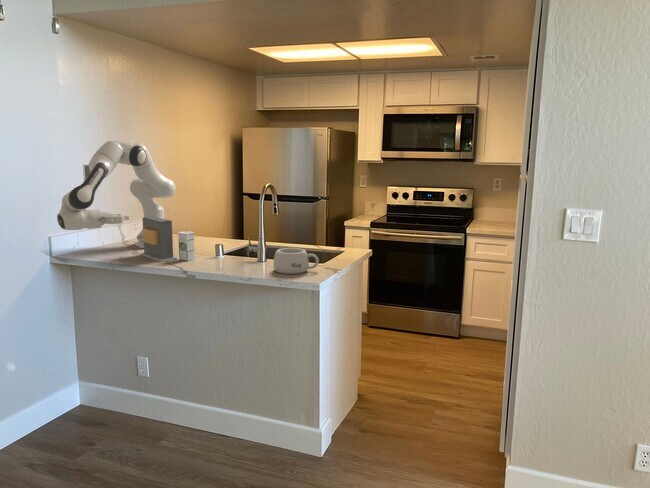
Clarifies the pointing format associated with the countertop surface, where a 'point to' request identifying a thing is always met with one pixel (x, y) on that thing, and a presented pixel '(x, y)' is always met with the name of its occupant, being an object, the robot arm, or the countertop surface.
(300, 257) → the mug
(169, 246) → the switch box
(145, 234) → the switch button
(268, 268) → the countertop surface
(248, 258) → the countertop surface
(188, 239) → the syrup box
